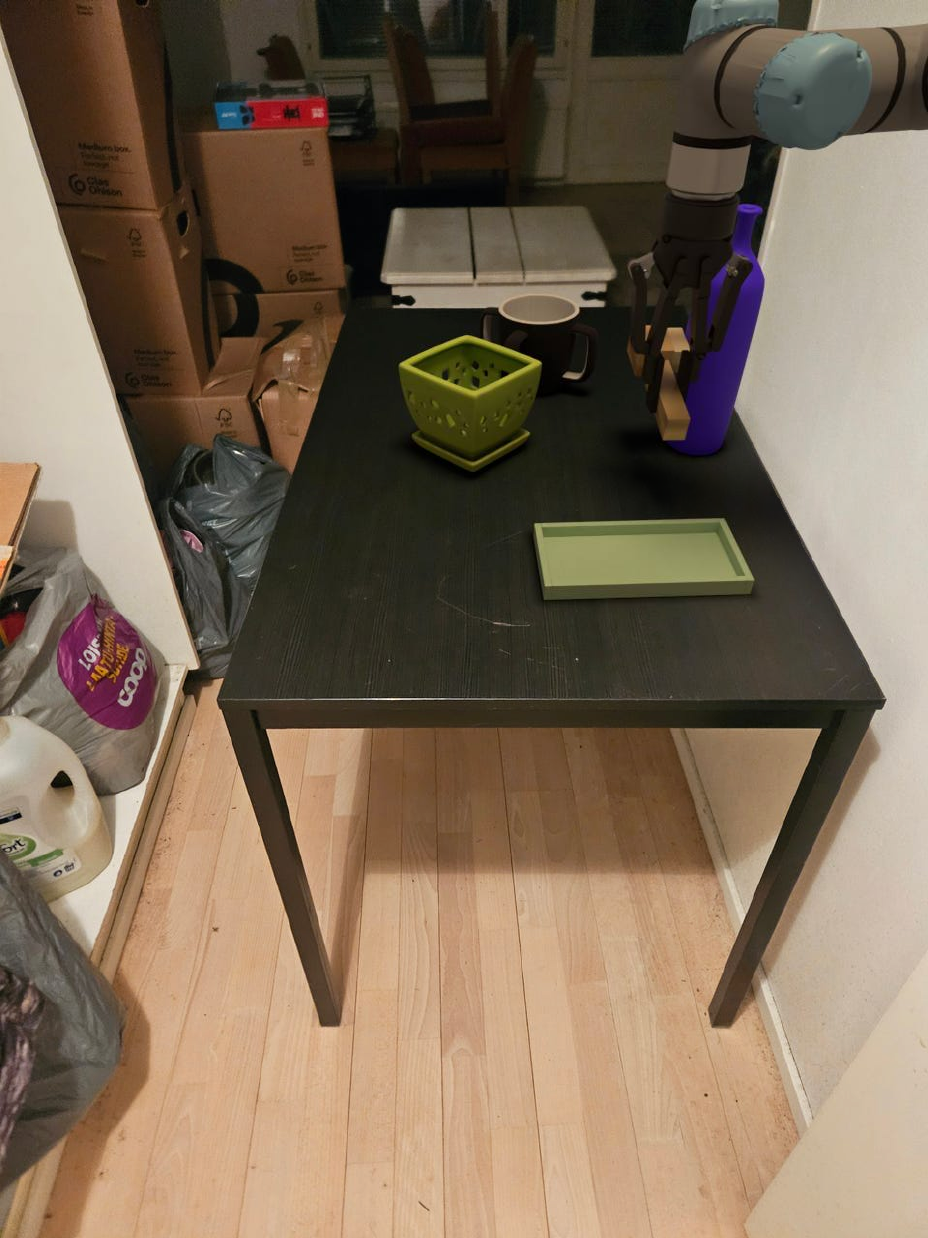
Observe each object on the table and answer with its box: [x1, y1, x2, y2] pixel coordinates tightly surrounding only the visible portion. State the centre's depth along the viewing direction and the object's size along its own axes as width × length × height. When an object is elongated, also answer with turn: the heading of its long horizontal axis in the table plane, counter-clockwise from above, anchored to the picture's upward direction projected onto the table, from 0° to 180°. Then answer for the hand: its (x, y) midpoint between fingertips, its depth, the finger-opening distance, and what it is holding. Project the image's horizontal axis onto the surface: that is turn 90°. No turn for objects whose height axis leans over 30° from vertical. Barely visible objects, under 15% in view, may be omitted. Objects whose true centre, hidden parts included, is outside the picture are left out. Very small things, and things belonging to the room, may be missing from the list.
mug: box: [479, 293, 600, 395], centre depth 118 cm, size 16×16×12 cm
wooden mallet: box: [626, 324, 690, 441], centre depth 94 cm, size 19×7×4 cm, turn 2°
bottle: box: [666, 203, 766, 456], centre depth 97 cm, size 8×8×30 cm
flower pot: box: [398, 334, 542, 473], centre depth 103 cm, size 14×14×13 cm
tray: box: [533, 517, 755, 601], centre depth 87 cm, size 23×12×2 cm, turn 92°
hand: (664, 406), depth 93 cm, fingers closed on wooden mallet, 3 cm apart
